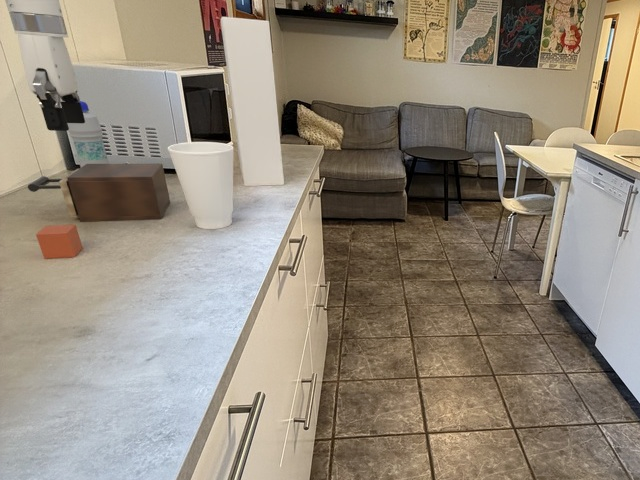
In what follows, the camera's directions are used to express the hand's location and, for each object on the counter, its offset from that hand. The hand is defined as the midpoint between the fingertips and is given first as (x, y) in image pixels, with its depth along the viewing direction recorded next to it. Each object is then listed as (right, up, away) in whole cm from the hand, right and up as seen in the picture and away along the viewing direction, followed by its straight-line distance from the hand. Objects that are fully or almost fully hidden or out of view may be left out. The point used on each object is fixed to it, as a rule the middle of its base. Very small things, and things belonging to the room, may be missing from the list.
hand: (67, 126), depth 92 cm
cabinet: (+4, -14, +12) cm, 19 cm away
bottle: (-14, -5, +28) cm, 32 cm away
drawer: (-1, -14, +10) cm, 17 cm away
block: (+7, -26, -10) cm, 29 cm away
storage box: (+19, +2, +47) cm, 51 cm away
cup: (+25, -18, +9) cm, 32 cm away
